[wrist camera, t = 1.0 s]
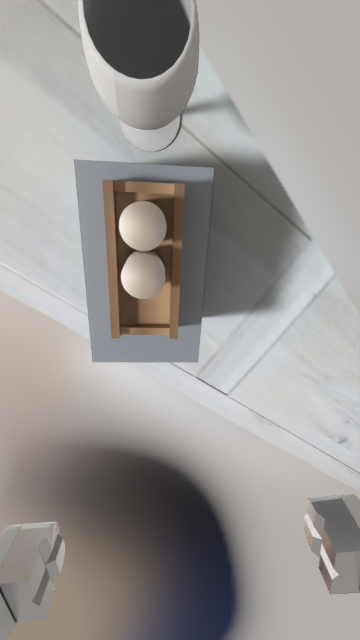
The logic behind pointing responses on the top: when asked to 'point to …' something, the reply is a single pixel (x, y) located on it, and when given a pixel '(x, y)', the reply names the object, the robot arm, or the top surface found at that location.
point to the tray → (118, 250)
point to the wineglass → (142, 63)
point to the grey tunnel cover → (191, 259)
